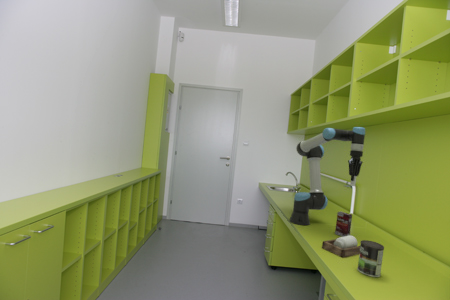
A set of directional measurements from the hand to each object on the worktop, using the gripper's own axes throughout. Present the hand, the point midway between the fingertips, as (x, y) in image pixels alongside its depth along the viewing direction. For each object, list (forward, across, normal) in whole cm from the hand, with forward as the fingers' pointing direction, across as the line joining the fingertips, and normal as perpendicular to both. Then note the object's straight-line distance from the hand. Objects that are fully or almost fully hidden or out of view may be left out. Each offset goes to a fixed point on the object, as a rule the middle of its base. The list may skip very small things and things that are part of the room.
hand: (352, 185), depth 180 cm
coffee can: (+37, -34, -35) cm, 61 cm away
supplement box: (+37, +4, +6) cm, 37 cm away
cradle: (+36, -21, -12) cm, 44 cm away
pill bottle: (+32, -13, -12) cm, 37 cm away
